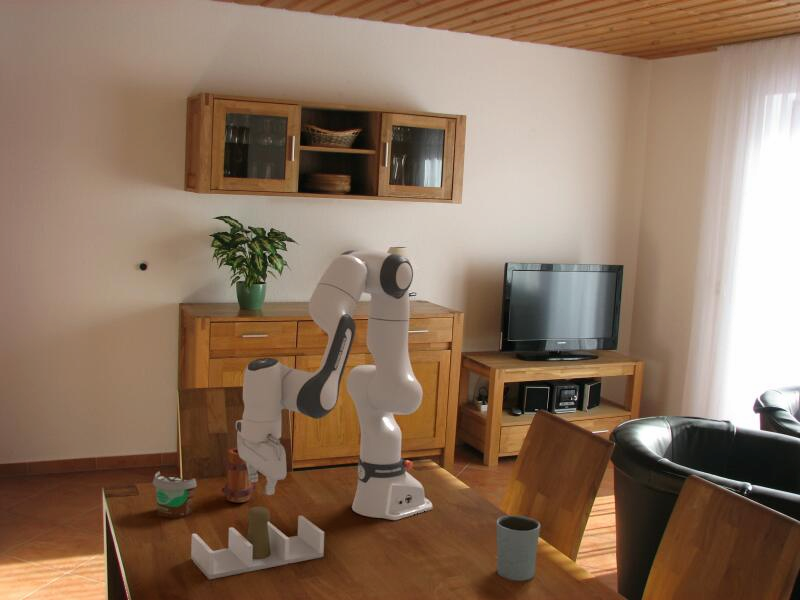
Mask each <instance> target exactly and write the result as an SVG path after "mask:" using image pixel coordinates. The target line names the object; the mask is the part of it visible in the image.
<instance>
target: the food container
mask: <svg viewBox="0 0 800 600" xmlns="http://www.w3.org/2000/svg"><path fill="white" fill-rule="evenodd" d="M152 485H153V487H155V495H156V507H157V509H156V510H157V515H158V516H160V517H162V518H165V517H167V518H166V519H180V517H182V518H185V517H184V516H187V517H189V516H188V515H190V516H192V514H193V513H192V511H193V504H194V503H193V502H194V494H195V488H196V487H197V480H196V478H194V477H193V478H192V479H189V480H187V479H184V478H181V477H179V476H168V475H162V474H161V471H157V472H156V473H155V475H154V477H153V480H152Z"/></svg>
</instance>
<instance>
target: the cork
mask: <svg viewBox="0 0 800 600" xmlns="http://www.w3.org/2000/svg"><path fill="white" fill-rule="evenodd" d="M270 517H271V512H270V509H268V508H267V507H266V506H265V507H264V506H253V507H251V508H250V509H249V510H248V512H247V517H246V518H247V521H248V522H249V523H248V524H249V525H248V532H247V537H246V540H247V541H249V542H250V543H251V544H252V545H253V554H252V559H263V558H267V557H269V556H270V554H271V552H270V542H269V532H268V523H267V522H268V521H269V522H270Z"/></svg>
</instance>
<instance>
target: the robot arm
mask: <svg viewBox="0 0 800 600" xmlns="http://www.w3.org/2000/svg"><path fill="white" fill-rule="evenodd" d="M411 264H412V263H410V260H409V259H408V258H407V257H405V256H403V255H400V254H398V253H389V252H385V251H379V250H371V251H370V250H358V249H357V250H356V249H352V250H348V251H344V252H342V253H341V254H340V255H338V256H336V257H335V258H334V259H333V261H332V262H331V263H330V264H329V266H328V267H327V268H326V270H325V271H324V273H323V274H322V276H321V277H320V279H319V281H318V283H317V284H316V286H315V289H314V290H313V291H312V294H311V295H310V296H311V297H310V299H309V302H308V312H309V315H310V317H311V318H312V320H313V322H314V323H315V324H316V325H317V326H318V327H319V328H320V329H321V330H323V331H324V332H325V333H326V334H327V337H328V340H327V344H326V348H325V351H324V354H323V357H322V359H321V362H320V364H319V365H320V366H319V367H318V369H316V370H315V371H313V372H310V371H305V370H301V369H298V368H293V367H290V366H287V365H285V364H282V363H281V362H280V361H279V359H277V358H274V357H260V358H256V359H253V360H252V361H250V362H249V363H248V364H247V365H246V367H245V370H244V376H243V381H242V382H243V383H242V401H243V404H244V409H243V413H242V419H239V420H236V421H235V429H236V431H237V434H236V441H237V448H238V453H239V457H240V458H241V459H243V460H244V461H245V462H246V466H247V470H248V473H249V481H251V483H257V482H258V481H259V473H260V474H261V475H263V476H265V478H266V482H267V483H266V485H265V486H264V493H265V494H266V495H268V496H271V495H274V494H275V493H276V492H275V490H276V489H275V487H276V484H278V483H277V482H278V481H280V480H281V481H282V480H285V479H286V477H287V456H286V450H285V447H284V446H283V444H281V443H280V442H281V441H280V439H281V437H282V418H283V417H282V410H284V409H285V410H288V411H291V412H295V413H299V414H300V413H301V414H302V415H304V416H308V417H309V418H312V419H316V420H318V419H322V418H324V417H326V416H328V414H331V412H332V411H333V410H334V408H335V407H336V405H337V402H338V398H339V393H340V386H341V382H342V378H343V375H344V372H345V369H346V365H347V363H348V359H349V356H350V353H351V350H352V346H353V343H354V340H355V335H356V332H357V331H356V330H357V329H356V326H357V325H356V322H355V319H354V313H355V310H356V308H357V306H358V304H359V301H360V299H361V297H362V294H363V293H364V294H370V301H369V306H368V307H369V308H368V314H367V315H368V316H367V318H368V319H367V331H366V347H367V349H368V351H369V353H370V354H371V356H372V359H373V361H374V364H363V365H362V364H360V365H356V366H355V367H353V368H352V369H351V370H350V371H349V372H348V375H347V377H346V380H345V386H346V391H347V393H348V394H349V396H350V397H351V399H352V401H353V404H354V406H355V410H356V413H357V418H358V421H359V429H360V449H359V450H360V451H359V457H358V458H357V459H358V460H357V461H358V462H357V463H358V464H357V487H356V492H355V494H354V495H355V496H354V499H353V502H352V506H351V508H352V511H354V512H355V513H356V514H359V515H361V516H363V517H364V516H365V517H369V518H377V519H380V518H381V519H385V520H391V521H397V520H398V521H399V520H400V519H404V518H407V517H411V516H414V514H415V515H418V514H421V513H424V511H425V512H428V511H431V510H433V503H432V502H431V500H429V499H428V498H427V497H425V489H424V487H423V484H422V483H421V482H420V481H419V480H417V478H415V477H413V475H412V474H410V473H409V472H407V470H411V469H413V467H414V466H413V465H414V463H413V462H412V461H410V460H409V459H406V460H405V459H404V458H402V457H401V455H402V430H401V427H400V426H399V425H398V423H397V421H396V419H395V417H394V415H400V416H401V415H406V416H407V415H411V414H413V413H414V412H415V413H416V411H417V410H418V409H419V407H420V405H421V404H422V400H423V395H424V394H423V388H422V385H421V384H420V382H419V381H418V379H417V378H416V376H415V374H414V372H413V367H412V365H411V359H410V354H409V353H410V352H409V329H410V316H411V315H410V312H411V311H410V310H411V307H410V292H409V290H410V289H409V288H410V287H411V284H412V282H413V278H414V271H413V267H412V265H411ZM406 468H407V470H406ZM258 472H259V473H258ZM417 513H418V514H417Z"/></svg>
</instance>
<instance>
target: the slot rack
mask: <svg viewBox="0 0 800 600" xmlns="http://www.w3.org/2000/svg"><path fill="white" fill-rule="evenodd" d="M297 520H298V521H297V535H294V536H289V537H288V536H287V535H286V534H285V533H283V532H282V531H281V530H280V529H278V528H277V527H276V526H275V525H274V524H272V523H271V522H270V520H269V521H268V522H267V523H268V532H269V542H270V552H271V554H270V556H269V557H267V558H263V559H252V554H253V545H252V544H251V543H250V542H249V541H247V538H245V537H244V536H243V535H242V534H241V533H240V532H239V531H238V530H237V529H236V528H234V526H233V527H229V528H228V548H221V549H218V550H217V549H216V550H213V549H211V547H210V546H209V545H208V544H207V543H206V542H205V541H204V540H203V539H202V538H201V537H200V536H199V535H198V534H197V532H196V533H192V534H191V543H190V544H191V547H190V549H191V550H190V551H191V553H190V560H191V559H192V560H193V563H194V564H195V565H196V566H197V567H198V569H199V570H200V571H201V572H202V573H203V574H204V576H206V578H207V579H208V580H213V579H217V578H218V579H219V578H223V577H228V576H229V577H230V576H232V575H233V576H234V575H237V574H242V573H243V574H244V573H249V572H253V571H258V570H263V569H270V568H273V567H279V566H285V565H288V564H289V563H290V564H294V563H298V562H303V561H311V560H314V559H319V558H320V559H321V558H323V557H324V554H325V553H324V551H325V550H324V549H325V531H323V530H322V529H320V528H319V527H318V526H317V525H315V524H314V523H312V522H311V521H310V520H309V519H307V518H306V517H305V516H303V515H298V518H297ZM192 560H191V561H192ZM290 564H289V565H290Z"/></svg>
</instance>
